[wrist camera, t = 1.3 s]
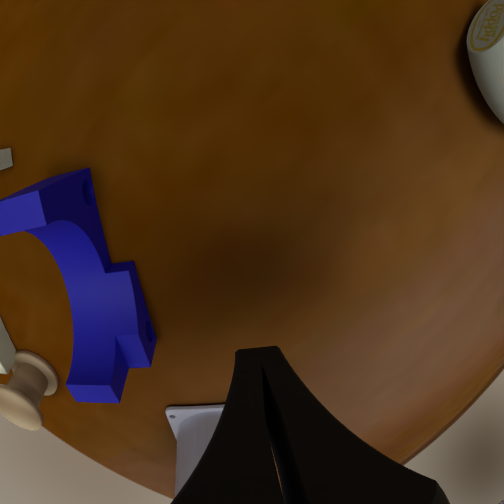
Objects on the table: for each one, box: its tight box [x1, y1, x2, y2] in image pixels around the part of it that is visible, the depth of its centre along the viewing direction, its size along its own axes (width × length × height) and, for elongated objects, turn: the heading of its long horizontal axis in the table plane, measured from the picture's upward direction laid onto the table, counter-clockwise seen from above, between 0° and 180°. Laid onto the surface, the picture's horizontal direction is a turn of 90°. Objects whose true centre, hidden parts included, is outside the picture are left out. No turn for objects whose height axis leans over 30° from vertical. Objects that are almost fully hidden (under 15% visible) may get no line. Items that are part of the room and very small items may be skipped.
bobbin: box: [0, 350, 59, 431], centre depth 18 cm, size 5×5×5 cm
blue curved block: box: [0, 168, 157, 403], centre depth 15 cm, size 12×4×6 cm, turn 5°
